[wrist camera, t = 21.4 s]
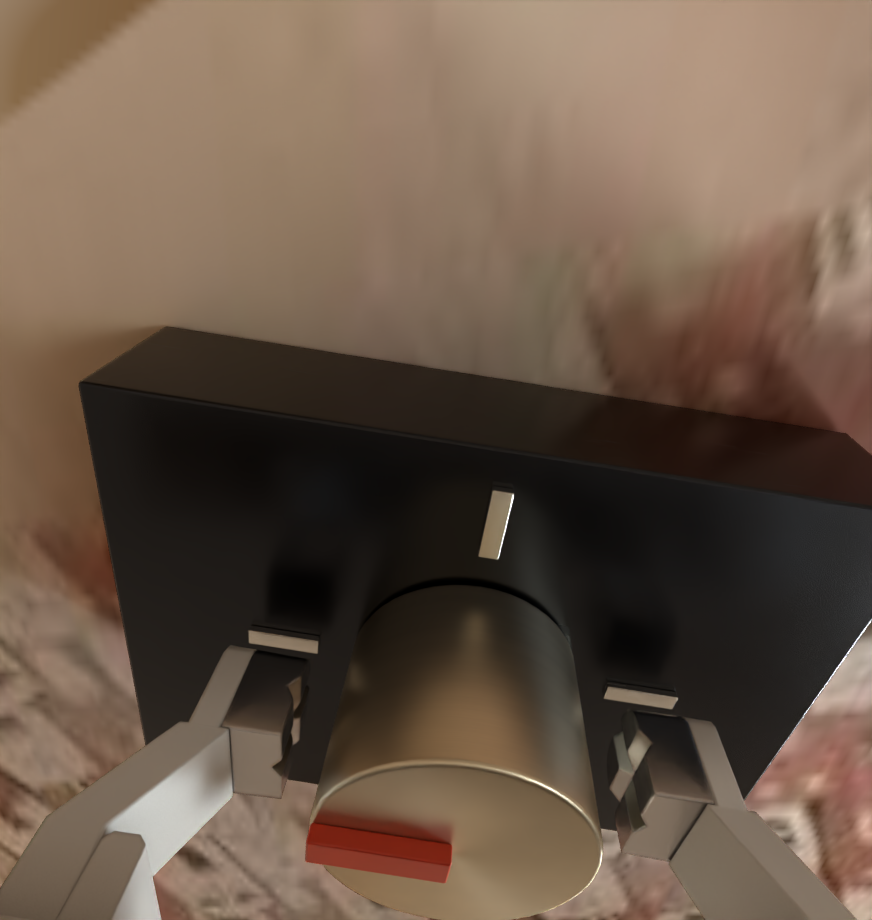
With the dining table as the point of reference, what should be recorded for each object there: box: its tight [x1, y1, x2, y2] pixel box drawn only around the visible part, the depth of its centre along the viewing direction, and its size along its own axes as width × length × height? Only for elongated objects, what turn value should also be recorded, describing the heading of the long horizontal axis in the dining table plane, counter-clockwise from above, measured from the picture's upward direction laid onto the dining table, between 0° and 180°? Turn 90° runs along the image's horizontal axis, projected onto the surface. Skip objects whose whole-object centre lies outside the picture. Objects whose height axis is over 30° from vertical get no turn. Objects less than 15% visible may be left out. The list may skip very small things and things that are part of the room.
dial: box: [305, 585, 603, 920], centre depth 10 cm, size 4×4×4 cm
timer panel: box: [79, 327, 872, 831], centre depth 13 cm, size 14×10×3 cm
